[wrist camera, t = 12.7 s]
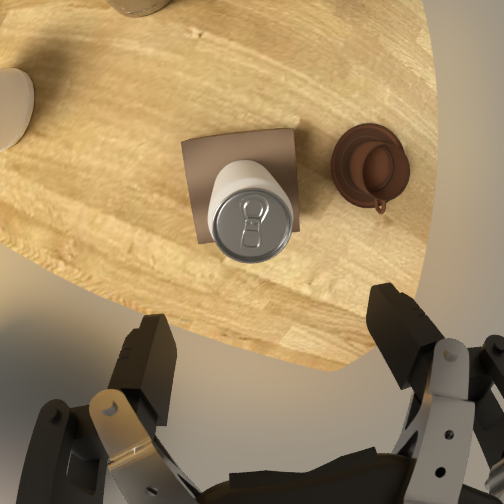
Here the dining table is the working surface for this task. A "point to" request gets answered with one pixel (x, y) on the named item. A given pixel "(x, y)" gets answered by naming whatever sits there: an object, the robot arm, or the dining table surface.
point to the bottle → (14, 105)
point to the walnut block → (234, 149)
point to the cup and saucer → (369, 166)
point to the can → (249, 213)
